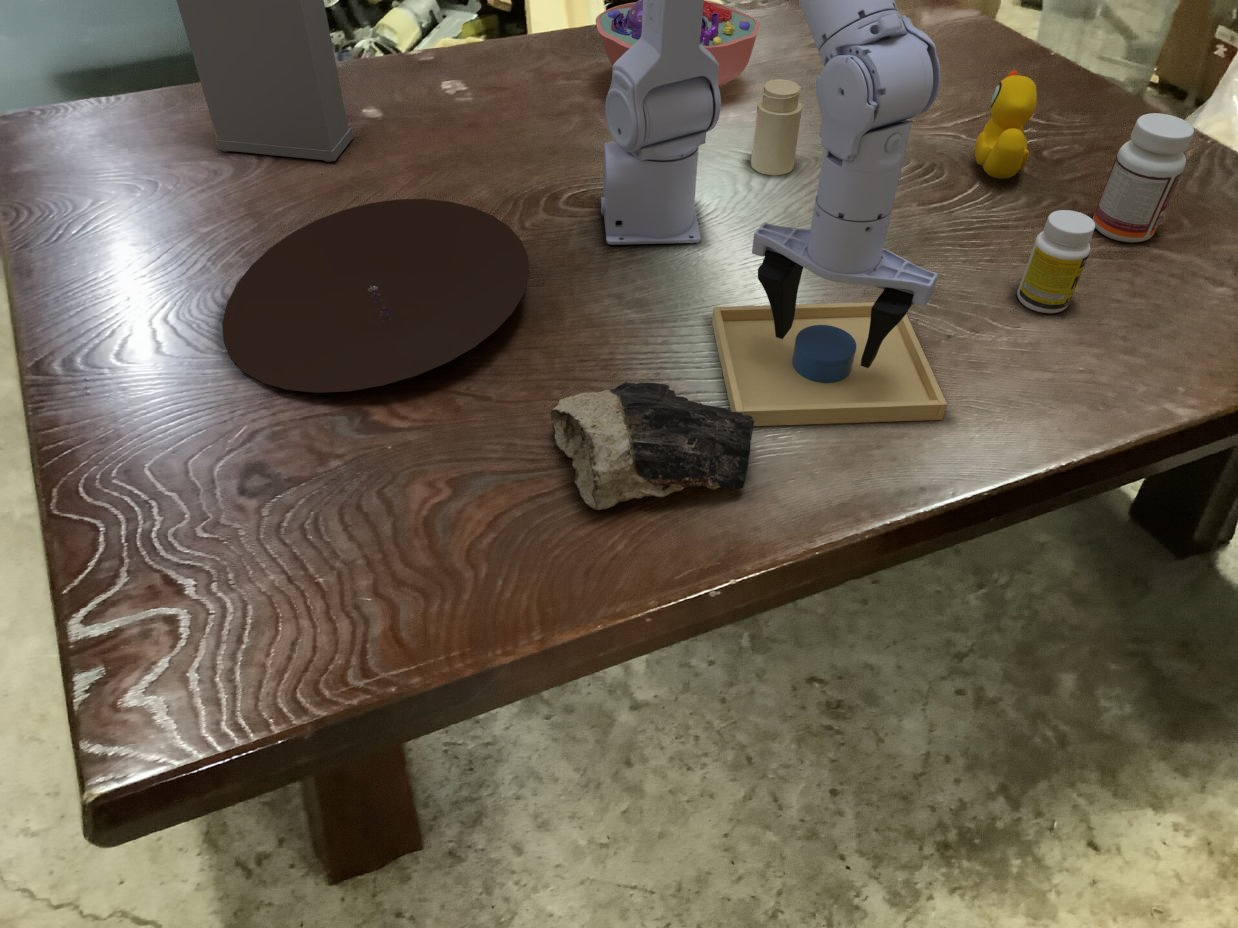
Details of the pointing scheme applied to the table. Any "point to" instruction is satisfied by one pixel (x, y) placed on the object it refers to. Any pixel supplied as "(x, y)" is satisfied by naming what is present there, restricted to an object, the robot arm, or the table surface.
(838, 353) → the lid
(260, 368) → the dark brown round disc
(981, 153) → the duckling
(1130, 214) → the pill bottle
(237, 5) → the grey upright box
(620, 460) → the mineral specimen
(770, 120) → the jar
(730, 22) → the cell model
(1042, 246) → the supplement bottle
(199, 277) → the table surface
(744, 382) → the tray
